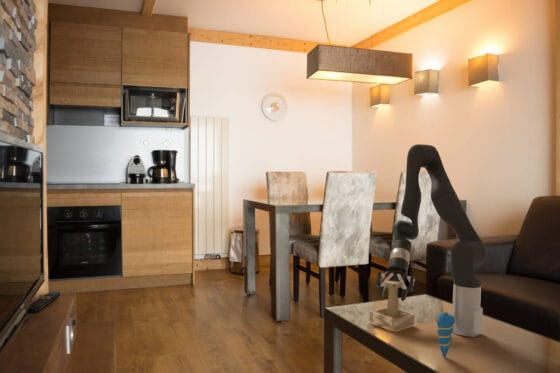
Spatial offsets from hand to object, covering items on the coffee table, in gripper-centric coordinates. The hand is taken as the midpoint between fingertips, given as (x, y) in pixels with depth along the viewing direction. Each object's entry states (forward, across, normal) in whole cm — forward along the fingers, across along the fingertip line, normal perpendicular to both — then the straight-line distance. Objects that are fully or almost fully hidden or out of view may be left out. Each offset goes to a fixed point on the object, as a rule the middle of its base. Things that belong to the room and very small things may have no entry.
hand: (391, 298), depth 171 cm
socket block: (+6, 0, +8) cm, 10 cm away
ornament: (+23, +21, -8) cm, 32 cm away
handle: (+5, 0, +8) cm, 10 cm away
